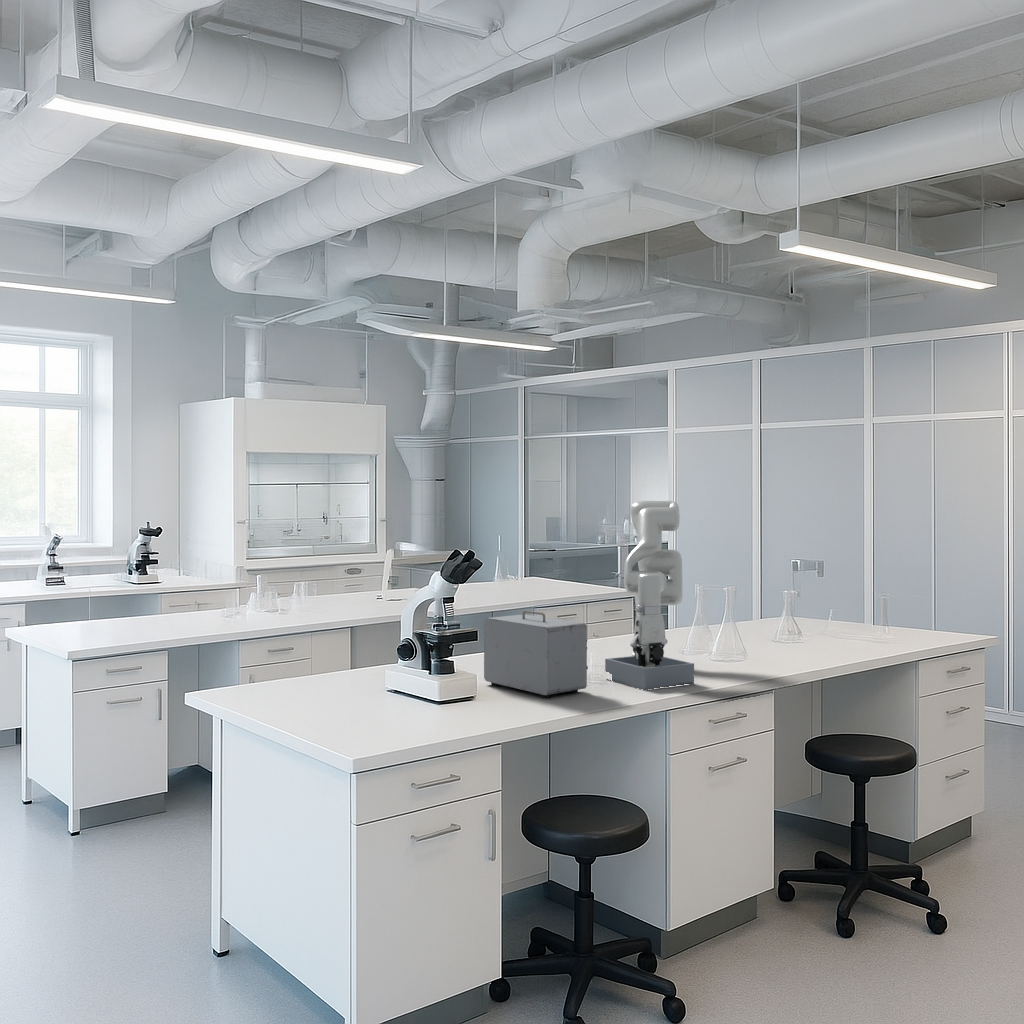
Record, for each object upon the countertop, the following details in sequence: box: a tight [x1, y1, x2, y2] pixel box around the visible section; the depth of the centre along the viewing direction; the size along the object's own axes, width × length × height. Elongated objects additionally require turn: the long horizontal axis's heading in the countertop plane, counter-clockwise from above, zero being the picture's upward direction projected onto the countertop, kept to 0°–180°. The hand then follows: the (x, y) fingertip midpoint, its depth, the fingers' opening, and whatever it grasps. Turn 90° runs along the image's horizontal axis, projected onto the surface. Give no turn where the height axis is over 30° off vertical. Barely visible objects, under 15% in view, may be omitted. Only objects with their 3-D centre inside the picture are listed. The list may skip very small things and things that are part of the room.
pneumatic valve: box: [632, 642, 665, 668], centre depth 325 cm, size 6×12×12 cm, turn 27°
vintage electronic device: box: [483, 609, 589, 699], centre depth 314 cm, size 32×18×25 cm, turn 39°
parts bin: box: [604, 655, 695, 691], centre depth 325 cm, size 22×20×7 cm
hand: (649, 664), depth 325 cm, fingers closed on pneumatic valve, 5 cm apart
